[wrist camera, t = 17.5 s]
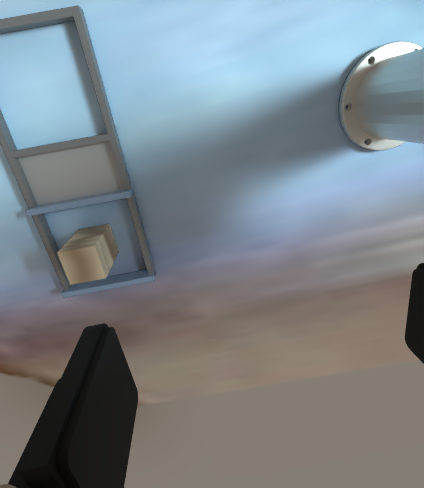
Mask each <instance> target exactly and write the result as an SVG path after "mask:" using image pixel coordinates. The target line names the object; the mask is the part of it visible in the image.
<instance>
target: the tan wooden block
mask: <svg viewBox="0 0 424 488" xmlns="http://www.w3.org/2000/svg"><path fill="white" fill-rule="evenodd" d="M118 252H119V251H118V248H117V244H116V241H115V238H114V235H113V232H112V229H111V225H110V224H105V225H100V226H94V227H88V228H83V229H79V230H78V231H77V232H76V233H75V234H74V235H73V236H72V237H71V238H70V239H69V240H68V241H67V243H66V244H65V245H64V246H63V247H62V248H61V249H60V250H59V251H58V252H57V254H58V256H59V259H60V261H61V263H62V266H63V268H64V271H65V273H66V276H67V278H68V281H69V283H70V285H72V284H78V283H83V282H89V281H94V280H100V279H105V278H106V277H107V275H108V273H109V271H110V269H111V267H112V265H113V263H114V261H115V259H116V256H117V254H118Z"/></svg>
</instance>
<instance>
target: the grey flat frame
mask: <svg viewBox="0 0 424 488" xmlns="http://www.w3.org/2000/svg"><path fill="white" fill-rule="evenodd" d="M70 21H75V23H76V27H77V30H78V34H79V37H80V40H81V44H82V47H83V51H84V54H85V58H86V61H87V65H88V68H89V71H90V75H91V78H92V82H93V85H94V89H95V92H96V96H97V99H98V102H99V106H100V109H101V113H102V116H103V120H104V123H105V127H106V130H107V133H108V134H103V135H97V136H92V137H86V138H81V139H75V140H70V141H64V142H59V143H53V144H48V145H42V146H37V147H31V148H26V149H20V150H17V149H16V146H15V144H14V141H13V139H12V137H11V134H10V132H9V129H8V127H7V124H6V122H5V120H4V117H3V115H2V112H1V110H0V144H1V146H2V148H3V151H4V153H5V155H6V157H7V160H8V162H9V164H10V167H11V169H12V171H13V174H14V176H15V178H16V181H17V183H18V185H19V188H20V190H21V192H22V194H23V197H24V199H25V201H26V204H27V206H28V209H27V210H25V212H26V214H27V216H32V218H33V220H34V222H35V225H36V227H37V229H38V231H39V234H40V236H41V238H42V241H43V243H44V245H45V248H46V250H47V252H48V255H49V257H50V259H51V262H52V264H53V266H54V268H55V271H56V273H57V275H58V278H59V280H60V282H61V285H62V287H63V289H64V290H63V291H62V293H61V294H62V296H63V298H65V297H71V296H76V295H81V294H87V293H92V292H97V291H103V290H108V289H113V288H118V287H124V286H129V285H134V284H140V283H145V282H150V281H154V279H155V273H156V272H155V269H154V265H153V261H152V258H151V254H150V251H149V247H148V243H147V240H146V236H145V233H144V229H143V225H142V222H141V218H140V215H139V211H138V207H137V204H136V200H135V197H134V193H133V189H132V186H131V182H130V179H129V175H128V171H127V168H126V164H125V161H124V157H123V153H122V150H121V146H120V143H119V139H118V135H117V132H116V128H115V125H114V121H113V117H112V114H111V110H110V107H109V103H108V100H107V96H106V92H105V89H104V85H103V82H102V78H101V74H100V71H99V67H98V64H97V60H96V56H95V53H94V49H93V46H92V42H91V38H90V35H89V31H88V28H87V24H86V20H85V17H84V13H83V10H82V9H81V8H80V7H79V6H73V7H67V8H61V9H56V10H50V11H44V12H39V13H33V14H28V15H22V16H16V17H11V18H5V19H0V34H2V33H8V32H14V31H19V30H25V29H30V28H36V27H42V26H47V25H53V24H59V23H64V22H70ZM124 198H126V199H127V202H128V206H129V209H130V213H131V216H132V220H133V223H134V227H135V230H136V233H137V237H138V240H139V244H140V247H141V251H142V254H143V258H144V261H145V264H146V268H147V270H142V271H137V272H131V273H126V274H121V275H115V276H110V277H106V278H105V279H100V280H94V281H89V282H83V283H78V284H72V285H70V283H69V281H68V278H67V276H66V273H65V271H64V268H63V266H62V263H61V261H60V259H59V256H58V254H57V252H58V251H59V250H58V248H57V245H56V243H55V240H54V238H53V235H52V233H51V231H50V228H49V226H48V223H47V221H46V219H45V216H44V214H43V213H48V212H54V211H59V210H65V209H70V208H75V207H81V206H86V205H92V204H97V203H102V202H108V201H113V200H119V199H124Z"/></svg>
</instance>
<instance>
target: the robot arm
mask: <svg viewBox="0 0 424 488" xmlns="http://www.w3.org/2000/svg"><path fill="white" fill-rule="evenodd" d="M368 60H369V63H368ZM345 106H347V108H346V109H345ZM339 113H340V121H341V124H342V127H343V129H344V131H345V133H346V134H347V136H348V137H349V138H350V139H351V140H352V141H353V142H354V143H355V144H357V145H358V146H360V147H363V148H366V149H370V150H387V149H392V148H395V147H397V146H400V145H401V144H403V143H405V142H413V143H422V144H424V48H422V47H421V46H419V45H417V44H414V43H411V42H406V41H398V42H392V43H388V44H385V45H382V46H380V47H377V48H375V49H374V50H372V51H371V52H369V53H367V54H366V55H365V56H364V57H363V58H362V59H361V60H360V61H358V63H357V64H356V65H355V66H354V68H353V69H352V70H351V72H350V74H349V75H348V77H347V79H346V81H345V84H344V86H343V89H342V92H341V97H340V104H339ZM365 140H366V142H365ZM405 341H406V344H407V346H408V347H409V349H410V350H411V351H412V352H413V353H414V354H415V355H416V356H417V357H418V358H419V359H420V360H421V361H422V362H423V363H424V263H421V264H419V265H418V266H417V269H416V270H414V271H413V274H412V282H411V290H410V299H409V307H408V315H407V323H406V331H405ZM137 403H138V392H137V388H136V385H135V382H134V380H133V377H132V374H131V372H130V369H129V366H128V364H127V361H126V358H125V356H124V353H123V350H122V348H121V345H120V342H119V340H118V337H117V334H116V332H115V329H114V328H113V327H108V326H107V324H99V325H94V326H89V327H86V328H85V329H84V330H83V333H82V335H81V337H80V339H79V341H78V343H77V345H76V347H75V350H74V352H73V354H72V356H71V358H70V360H69V362H68V365H67V367H66V369H65V371H64V373H63V375H62V377H61V379H59V380H58V382H57V383H56V385H55V387H54V389H53V391H52V393H51V395H50V397H49V399H48V401H47V404H46V406H45V408H44V410H43V412H42V414H41V416H40V418H39V420H38V423H37V424H36V426H35V429H34V431H33V433H32V435H31V437H30V439H29V441H28V443H27V445H26V447H25V449H24V452H23V454H22V456H21V458H20V460H19V462H18V464H17V466H16V468H15V471H14V472H13V475H12V477H11V479H10V481H9V483H8V484H4V485H0V488H124V483H125V477H126V471H127V465H128V458H129V453H130V446H131V440H132V434H133V428H134V422H135V416H136V409H137Z"/></svg>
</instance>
